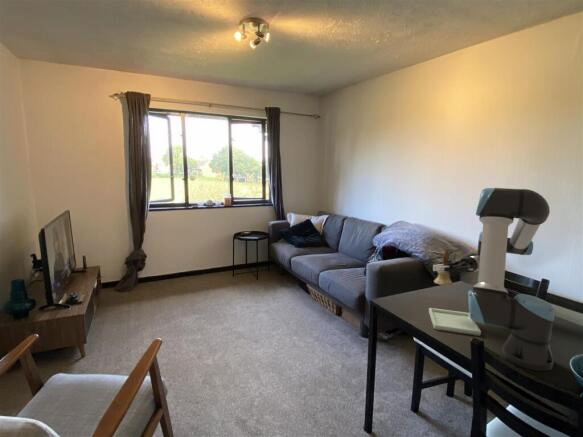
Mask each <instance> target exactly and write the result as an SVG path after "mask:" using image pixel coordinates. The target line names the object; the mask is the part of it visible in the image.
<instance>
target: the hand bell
mask: <svg viewBox="0 0 583 437" xmlns="http://www.w3.org/2000/svg"><path fill="white" fill-rule="evenodd" d="M448 260H450V253H449V250H448V249H445V251H444V252H443V255H442V262H444V264H443V266H447V263H448ZM433 283H435V284H437V285H440V286H445V287H449V286H450V287H451V286H453V285H454V283H453V281H452V280H451V277H450V271H448V272H441V273H438V275H437V277H436V278H435V279H434V280H433Z"/></svg>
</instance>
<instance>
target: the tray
mask: <svg viewBox="0 0 583 437" xmlns="http://www.w3.org/2000/svg"><path fill="white" fill-rule="evenodd" d="M428 314H429V316H430V320H431V323H432V326H433V329H434V330H437V331H443V332H449V333H456V334H457V333H458V334H465V335H472V336H479V337H481V334H482V330H481V329H480V327H479V325H478V324H477V322H475V321H472V320H471V318H470V316H469V312H465V311H458V310H457V311H456V310H449V309H441V308H433V307H429V308H428Z"/></svg>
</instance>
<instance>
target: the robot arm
mask: <svg viewBox="0 0 583 437" xmlns="http://www.w3.org/2000/svg"><path fill="white" fill-rule="evenodd" d="M475 216H477V217H479V218H478V219H479V220H478V221H479V222H480V223H481V224H482V231H480V232H479V237H478V245H477V252H476V255H471V256H464V257H462V258H461V259H459V260H456V261H453V259H450V258H449V260H448V263H447V266H443V264H444V262H443V261H440V262H439V264H438V263H437V264H433V265H432V271H433V272H437V273H438V274H439V273H441V272H449V273H450V272H453V273H455V274H457V273H459V274H461V273H475V272H478V275H477V276H478V277H477V278H478V279H477V283H476V284H474V285H472V289H469V290H468V291H467V296H468V298H467V299H468V300H467V301H468V302H467V304H468V305H467V306H468V313H469V316H470V318H471V320H472V321H475V322H476V323H479V324H482V325H488V326H492V327H497V328H501V329H502V328H503V329H506V330H510V334H509V335H508V336H507V339H506V340H505V342H504V343H503V345H502V350H501V352H502V355H503V357H504V358H506V359H507V360H508V361H510V362H511V363H513V364H515V365H517V366H519V367H522V368H525V369H527V370H530V371H532V370H533V371H537V372H548V371H551V370H552V369H553V366H554V357H553V353H552V349H551V345H550V344H551V338H552V332H553V327H554V325H553V324H554V321H555V308H554V307H553V305H552V304H550V303H549V302H547V301H546V300H544V299H541V298H539V297H537V296H534V295H530V294H525V293H517V294H516V295H515V296H514V297H510V296H509V291H508V290H507V288H505V274H506V261H507V254H511V255H512V254H513V255H520V256H531V255H532V254H533V250H534V242H533V241H532V240H533V238H534V236H535V235H536V233H537V232H538V229H539V228H540V226H541V225H542V224H544V223H545V222H546V221H547V219H548V218H549V216H550V205H549V203H548V201H547V200H546V199H545V197H544V196H543V195H541V194H540V193H538V192H537V191H534V190H531V189H527V188H522V189H520V188H503V187H485V188H483V189H482V190H481V192H480V195H479V199H478V204H477V206H476V211H475ZM514 219H517V223H516V226H515V228H514V229H513V232H512V235H511V237H508V235H509V226H510V225H511V224H513V223H514Z"/></svg>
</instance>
